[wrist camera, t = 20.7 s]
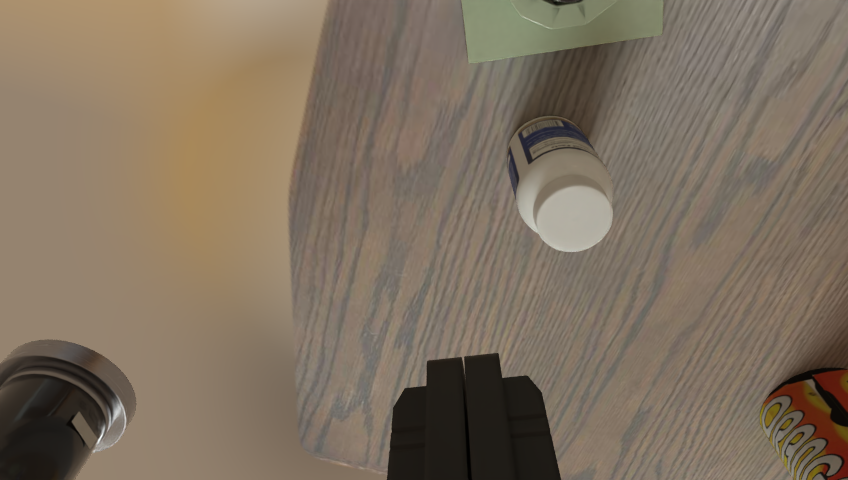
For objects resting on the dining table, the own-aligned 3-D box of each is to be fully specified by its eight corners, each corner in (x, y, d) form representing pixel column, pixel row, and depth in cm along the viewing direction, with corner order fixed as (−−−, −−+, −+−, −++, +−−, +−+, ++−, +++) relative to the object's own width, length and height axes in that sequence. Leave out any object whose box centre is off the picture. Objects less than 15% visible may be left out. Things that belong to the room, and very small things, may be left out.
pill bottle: (559, 202, 41) (590, 278, 33) (490, 170, 40) (504, 240, 31) (603, 135, 39) (649, 198, 30) (532, 99, 38) (558, 154, 29)
